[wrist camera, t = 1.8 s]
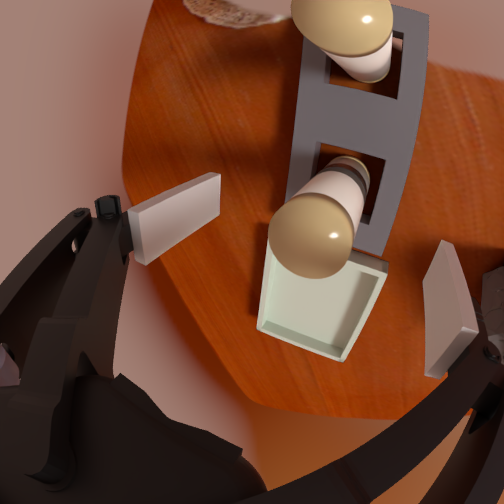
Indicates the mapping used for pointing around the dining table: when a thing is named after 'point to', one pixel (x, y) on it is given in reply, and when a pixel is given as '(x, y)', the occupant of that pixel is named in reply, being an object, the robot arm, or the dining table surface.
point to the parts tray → (320, 304)
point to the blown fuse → (321, 220)
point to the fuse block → (363, 123)
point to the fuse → (349, 33)
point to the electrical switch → (494, 307)
